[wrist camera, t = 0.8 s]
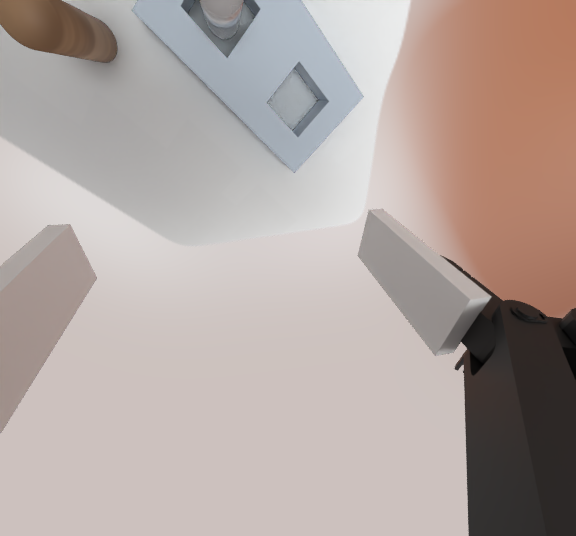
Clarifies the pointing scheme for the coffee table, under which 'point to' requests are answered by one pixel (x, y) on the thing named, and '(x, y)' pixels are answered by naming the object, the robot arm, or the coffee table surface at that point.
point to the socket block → (263, 69)
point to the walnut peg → (57, 29)
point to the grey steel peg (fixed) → (222, 16)
